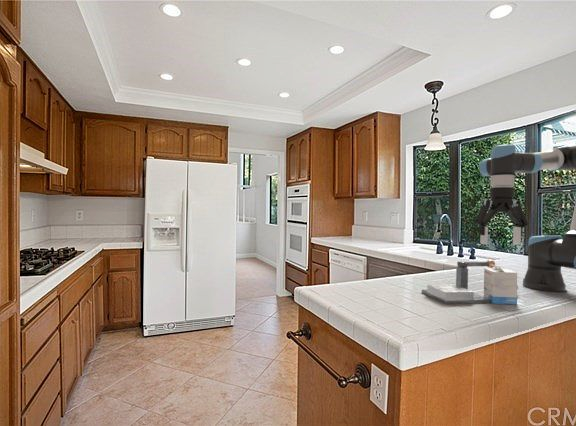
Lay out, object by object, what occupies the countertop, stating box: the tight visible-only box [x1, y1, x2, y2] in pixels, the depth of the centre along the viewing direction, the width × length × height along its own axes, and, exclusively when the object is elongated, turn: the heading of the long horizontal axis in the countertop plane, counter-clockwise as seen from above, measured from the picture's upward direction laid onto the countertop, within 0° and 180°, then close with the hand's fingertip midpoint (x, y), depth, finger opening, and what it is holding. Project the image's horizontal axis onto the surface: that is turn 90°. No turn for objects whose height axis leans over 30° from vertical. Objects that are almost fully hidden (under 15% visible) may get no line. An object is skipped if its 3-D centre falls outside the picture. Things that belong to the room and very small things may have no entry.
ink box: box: [483, 264, 518, 306], centre depth 124 cm, size 9×8×13 cm
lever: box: [456, 259, 496, 269], centre depth 135 cm, size 16×4×3 cm, turn 98°
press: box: [421, 266, 492, 305], centre depth 128 cm, size 18×16×10 cm
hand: (500, 244), depth 124 cm, fingers open, 13 cm apart
